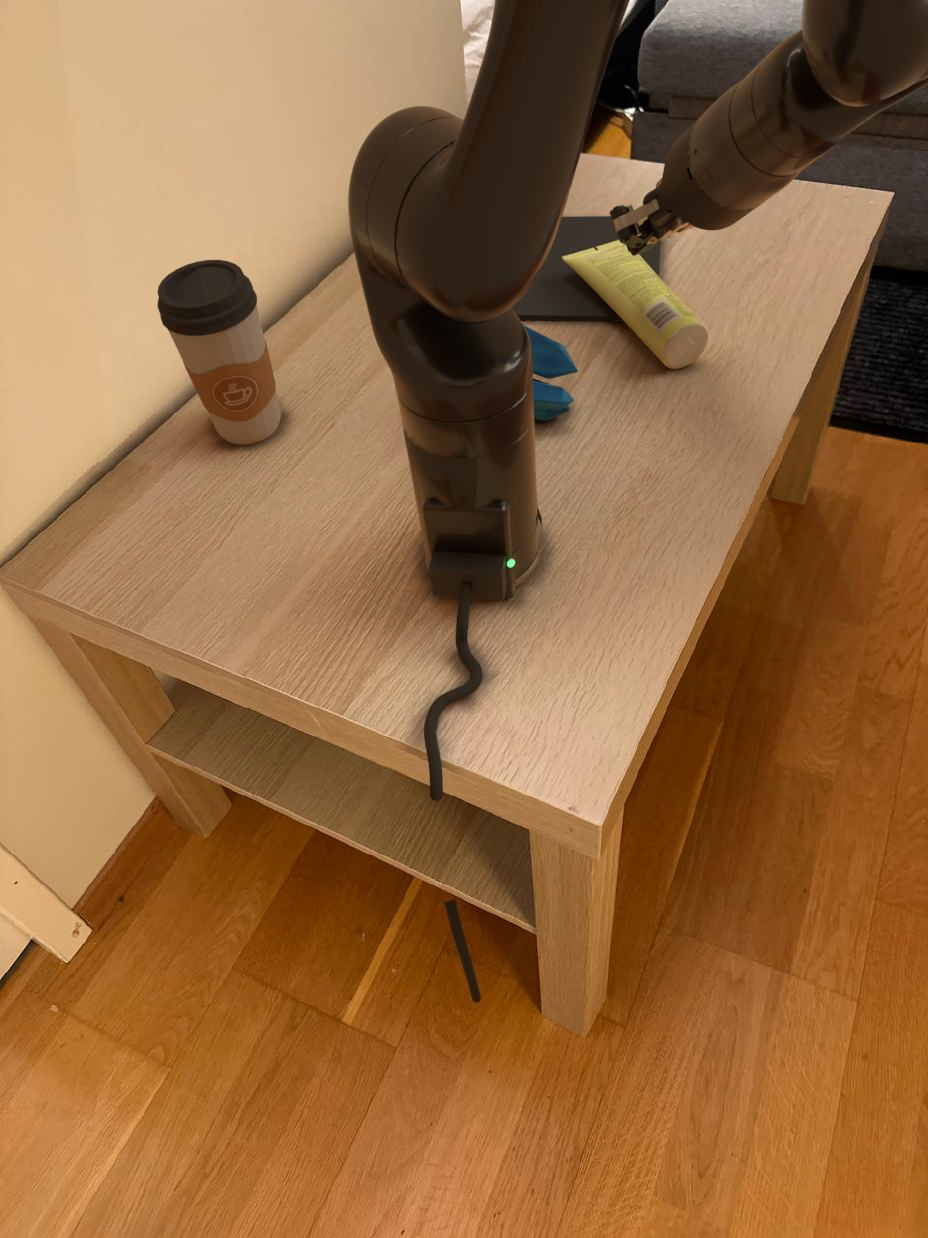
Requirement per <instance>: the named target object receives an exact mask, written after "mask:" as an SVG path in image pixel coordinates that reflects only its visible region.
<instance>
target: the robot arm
mask: <svg viewBox="0 0 928 1238" xmlns="http://www.w3.org/2000/svg"><path fill="white" fill-rule="evenodd" d="M629 3H630V0H494V5H493V11H492V17H491V23H490V29H489V33H488V37H487V42H486V44H485V45H486V46H485V49H484V53H483V56H482V61H481V63H480V67H479V70H478V74H477V76H476V80H475V83H474V87H473V90H472V93H471V96H470V99H469V103H468V106H467V109H466V111H465V115H464V117H463V118H462V117H460V116H458V115H456V114H454V113H452V112H451V111H447V110H445V109H442V108H438V107H434V106H428V105H415V106H409V107H405V108H402V109H400V110H397V111H395V112H392V113H391V114H389V115H387V116H386V117H385V118H383V119H382V120H381V121H379V122H378V123H377V124H376V126H374V127H373V129H372V130H371V131H370V132H369V133H368V135H367V137H366V138H365V139H364V140H363V142H362V144H361V146H360V149H359V150H358V153H357V155H356V157H355V159H354V162H353V165H352V168H351V173H350V178H349V184H348V194H347V212H348V214H347V215H348V223H349V231H350V232H349V233H350V237H351V243H352V247H353V252H354V259H355V262H356V267H357V270H358V274H359V279H360V283H361V288H362V292H363V296H364V299H365V303H366V308H367V311H368V316H369V321H370V325H371V328H372V332H373V335H374V339H375V341H376V344H377V347H378V349H379V351H380V353H381V355H382V357H383V358H384V360H385V362H386V365H387V366H388V368H389V370H390V372H391V374H392V378H393V382H394V386H395V392H396V397H397V401H398V409H399V412H400V420H401V425H402V430H403V434H404V435H403V437H404V442H405V447H406V453H407V458H408V462H409V469H410V476H411V480H412V487H413V492H414V497H415V503H416V509H417V514H418V520H419V526H420V531H421V535H422V542H423V546H424V547H423V549H424V550H423V551H424V559H425V565H426V567H427V570H428V576H429V582H430V586H431V594H432V596H434V597H447V598H458V599H457V601H458V602H457V609H456V619H455V621H456V622H455V637H454V639H455V647H456V651H457V654H458V656H459V659H460V661H461V662H462V663H463V665H464V666H465V667H466V669H467V670H468V671H469V673H470V674H469V678H468V680H466V682H465V683H464V684H461V685H459V686H457V687H455V688H453V689H450V690H448V691H446V692H444V693H442V694H441V695H439V696H438V697H436V699H435V700H433V702H432V703H431V705H430V707H429V709H428V711H427V713H426V715H425V719H424V723H423V739H424V745H425V750H426V757H427V762H428V771H429V797H430V798H431V800H432V801H435V802H438V801H440V800H441V799H442V797H443V796H444V780H443V779H444V778H443V777H444V776H443V766H442V765H443V764H442V759H441V751H440V747H439V741H438V732H437V729H438V723H439V720H440V717H441V715H442V713H443V711H444V710H445V709H446V707H448V706H449V705H451V704H453V703H456V702H458V701H460V700H462V699H464V698H466V697H468V696H470V695H472V694H473V693H475V692H476V691H477V690H478V689H479V687H481V683H482V681H483V677H484V676H483V675H484V674H483V668H482V667H481V664H480V663H479V661H478V660H477V659H476V657H475V656H474V655H473V654H472V651H471V650H470V646H469V640H468V636H469V621H470V612H471V611H470V610H471V602H472V599H477V600H478V599H479V600H493V601H504V600H505V599H506V598H507V599H512V598H513V597H514V596H515V591H516V588H517V587H519V585H521V584H522V583H524V582H525V581H526V580H527V579H529V577H531V575H532V574H533V573H534V571H535V570H536V568H537V566H538V564H539V561H540V558H541V539H540V534H539V524H540V526H541V527H543V518H542V515H541V514H542V513H541V512H540V509H539V507H538V485H537V484H538V483H537V458H536V433H535V432H536V429H535V419H534V394H533V378H534V374H533V361H532V348H531V342H530V338H529V336H528V333H527V331H526V329H525V327H524V326H525V325H524V324H523V322H522V320H520V319H519V318H518V316H517V315H516V313H515V312H514V310H513V309H512V307H513V306H514V305H515V304H516V303H517V302H518V301H519V300H520V299H521V298H522V297H523V295H524V294H525V293H526V292H527V290H528V289H529V288H530V286H531V285H532V284H533V282H534V280H535V278H536V277H537V275H538V273H539V271H540V269H541V268H542V266H543V264H544V262H545V260H546V258H547V256H548V253H549V251H550V249H551V246H552V244H553V241H554V238H555V236H556V233H557V230H558V227H559V224H560V221H561V218H562V217H563V215H564V212H565V208H566V206H567V201H568V198H569V195H570V192H571V188H572V186H573V181H574V178H575V174H576V170H577V167H578V165H579V161H580V157H581V154H582V150H583V147H584V143H585V140H586V136H587V133H588V130H589V126H590V123H591V119H592V116H593V112H594V109H595V105H596V102H597V98H598V95H599V92H600V88H601V85H602V82H603V79H604V77H605V72H606V69H607V66H608V63H609V61H610V58H611V54H612V51H613V48H614V46H615V43H616V40H617V37H618V34H619V31H620V28H621V25H622V22H623V20H624V17H625V16H626V15H625V14H626V13H627V10H628V7H629ZM927 85H928V0H802V11H801V29H800V30H798V31H796V32H795V33H793V34H791V35H789V36H788V37H787V38H786V39H784V40H783V41H782V42H780V43H779V44H777V45H776V47H774V48H773V50H771V51H770V52H769V53H768V54H766V56H765V57H764V58H763V59H762V60H761V61H760V62H759V63H758V64H756V66H754V68H753V69H751V71H749V73H747V75H745V77H743V78H742V79H741V80H740V81H738V82H737V83H735V84H734V85H732V86H731V87H729V88H728V89H727V90H726V91H724V92H723V93H722V94H721V95H720V96H719V97H718V98H717V99H716V100H715V101H714V102H713V103H712V104H711V105H710V106H709V107H708V108H707V109H706V110H705V111H704V112H703V113H702V114H701V115H700V116H699V117H698V118H697V119H696V120H695V121H694V122H693V123H692V124H691V125H690V126H689V127H688V128H687V129H686V130H685V131H684V132H683V133H682V134H681V135H680V136H679V137H678V139H676V140H675V142H674V143H673V144H672V145H671V147H670V149H669V151H668V153H667V155H666V158H665V161H664V166H663V170H662V176H661V178H660V179H659V180H657V182H656V184H655V188H653V189H652V190H650V191H649V192H647V193H646V194H645V195H644V197H643V199H642V205H640V206H638V207H637V208H633V205H632V204H628V205H623V204H622V205H616V206H614V207H613V209H611V210H610V211H609V215H610V216H611V218H612V221H613V224H614V227H615V230H616V232H617V235H618V238H619V241H620V242H621V243H623V244H625V245H626V246H627V249H628V252H631V254H632V255H633V256H635V255H638V254H640V253H643V252H646V251H648V250H650V249H651V248H652V247H653V246H655V245H656V244H657V243H658V242H660V243H661V241H662V240H663V239H670V238H673V237H674V235H675V234H677V233H682V232H686V231H688V230H692V229H693V228H697V229H698V230H699V229H700V230H703V231H720V230H724V229H726V228H729V227H731V226H733V225H734V224H736V223H737V222H740V220H741V219H743V218H745V217H746V216H747V215H749V214H750V213H751V212H753V211H755V210H756V209H757V208H758V207H760V206H762V204H764V203H766V201H768V200H769V199H771V198H772V197H773V196H775V195H776V194H777V193H779V192H781V191H782V190H783V189H785V187H787V186H788V185H789V184H790V183H791V182H793V180H795V179H796V178H797V177H798V175H799V174H800V173H801V172H802V171H803V170H805V169H806V168H807V167H808V166H810V165H811V164H813V163H814V162H815V161H817V160H818V159H820V158H821V157H822V156H824V155H825V154H826V153H829V151H830V150H832V149H833V148H835V147H836V146H837V145H838V144H839V143H841V141H843V140H844V139H845V138H846V137H847V136H848V135H850V134H851V133H852V132H853V131H855V130H856V129H857V128H859V127H860V126H862V125H863V124H864V123H866V122H868V120H870V119H872V118H873V117H875V116H877V115H878V114H880V113H881V112H883V111H885V110H886V109H888V108H891V107H892V106H894V105H895V104H897V103H899V102H901V101H902V100H905V98H908V97H909V96H910V95H912V94H913V93H915V92H917V91H918V90H920V89H922V88H924V87H925V86H927ZM443 904H444V907H445V912H446V915H447V919H448V923H449V926H450V927H449V928H450V929H451V933H452V937H453V940H454V943H455V947H456V950H457V952H458V956H459V959H460V962H461V966H462V969H463V972H464V975H465V979H466V981H467V985H468V989H469V992H470V997H471V1001H472V1002H473V1003H475V1004H477V1003H480V1002H481V1000H482V995H481V992H480V987H479V983H478V980H477V975H476V972H475V967H474V965H473V961H472V958H471V954H470V950H469V948H468V943H467V940H466V936H465V933H464V929H463V925H462V921H461V917H460V913H459V909H458V904H457V899H456V898H453V899H450V900H447V901H444V903H443Z"/></svg>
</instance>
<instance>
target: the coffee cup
mask: <svg viewBox="0 0 928 1238" xmlns="http://www.w3.org/2000/svg"><path fill="white" fill-rule="evenodd" d="M157 296H158V298H157V305H156V306H157V309H158V313H159V315H160V317H159V318H160V321H161V323H162V326H164V327H165V328H166V330H168V333H169V335H170V338H171V339H172V341H173V343H174V345H175V347H176V350H177V352H178V354H179V356H180V358H181V360H182V362H183V366H184V368H185V370H186V373H187V374H188V376H189V378H190V380H191V382H192V385H193V387H194V389H195V391H196V393H197V396H198V397H199V399H200V401H201V403H202V405H203V408H204V409H205V410H206V412H207V414H208V416H209V418H210V420H211V423H212V424H213V427H214V429H215V431H216V433H217V434H218V435H219V436H220V437H221V438H223V439H224V440H225V441H227V442H229V443H231V444H235V445H251V444H256V443H258V442H259V443H260V442H262V441H264V440H266V439H268V438H269V437H270V436H271V435H273V434H274V433H275V432H276V431H277V429H278V428H279V425H280V420H281V418H282V410H281V406H280V402H279V401H280V400H279V397H278V393H277V389H276V388H277V385H276V384H277V383H276V380H275V375H274V371H273V367H272V362H271V357H270V353H269V348H268V344H267V341H266V339H265V335H264V332H263V326H262V323H261V318H260V314H259V313H260V312H259V309H258V305H257V304H258V295H257V293H256V291H255V289H254V286H253V284H252V282H251V280H250V278H249V277H248V276H247V275H245V274H244V272H243V269H242V268H241V267H240V266H239V265H238V264H236V263H234V262H231V261H229V260H224V259H205V260H199V261H195V262H191V263H188V264H185V265H182V266H181V267H178V268H176V269H174V270H173V271H172V272H170V273H168V274H167V275H166V276H165V277H164V278H163V279H162V280H161V282H160V283H159V285H158V286H157Z"/></svg>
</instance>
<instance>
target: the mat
mask: <svg viewBox="0 0 928 1238" xmlns="http://www.w3.org/2000/svg"><path fill="white" fill-rule="evenodd" d="M617 240H619V238H618V235H617V232H616V230H615V227H614V224H613V221H612V218H611V215H610V216H608V215H605V216H604V215H603V216H600V215H598V216H593V215H592V216H562V218H561V221H560V224H559V227H558V230H557V233H556V236H555V238H554V241H553V244H552V246H551V249H550V251H549V253H548V256H547V258H546V260H545V262H544V264H543V266H542V268H541V269H540V271H539V273H538V275H537V277H536V278H535V280H534V282H533V284H532V285H531V286H530V288H529V289H528V290H527V292H526V293H525V294H524V295H523V297H522V298H521V299H520V300H519V301H518V302H517V303H516V304H515V305H514V306H513V307H512V309H513V310H514V312H515V313H516V315H517V316H518V318H519V319H520V320H521V321H574V322H575V321H577V322H578V321H579V322H581V321H582V322H583V321H585V322H587V321H588V322H624V321H623V319H622V318H621V317H620V316H619V315H618V314H617V313H616V312H615V311H614V310H613V309H612V308H611V307H610V306H609V305H608V304H607V303H606V302H605V301H604V300H603V299H602V298H601V296H600V295H599V294H598V293H597V292H596V291H595V290H594V289H593V288H592V287H591V286H590V285H589V284H588V283H587V282H586V281H585V280H584V279H583V278H582V277H581V276H580V275H579V274H578V273H577V272H575V271H574V270H573V269H572V268H571V267H570V266H569V265H568V264H567V263H566V262H565V261H564V260H563V259H562V256H567V255H570V254H574V253H577V252H580V251H584V250H587V249H590V248H594V247H597V246H601V245H604V244H607V243H610V242H614V241H617ZM639 255H640V256H641V257H642V258H643V259H644V261H645V262H646V263H647V264H648V265H649V266H650V268H651V269H652V270H653V271H654V272H655V273H656V274H657V275H658V277H659V278H660V276H659V275H660V259H661V258H660V256H661V241H660V242H658V243H657V244H656V245H655V246H653V247H652V248H651V249H650V250H648V251H646V252H643V253H640V254H639Z"/></svg>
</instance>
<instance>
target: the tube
mask: <svg viewBox="0 0 928 1238" xmlns="http://www.w3.org/2000/svg"><path fill="white" fill-rule="evenodd" d="M562 259H563V260H564V261H565V262H566V263H567V264H568V265H569V266H570V267H571V268H572V269H573V270H574V271H575V272H577V273H578V274H579V275H580V276H581V277H582V278H583V279H584V280H585V281H586V282H587V283H588V284H589V285H590V286H591V287H592V288H593V289H594V290H595V291H596V292H597V293H598V294H599V295H600V296H601V298H602V299H603V300H604V301H605V302H606V303H607V304H608V305H609V306H610V307H611V308H612V309H613V310H614V311H615V312H616V313H617V314H618V315H619V316H620V317H621V318H622V319H623V321H622V322H624V323H625V324H626V325H627V326H628V327H629V328H630V329H631V330H632V331H633V333H634V334H636V336H637V337H638V338H639V339H640V341H642V342H643V343H644V344H645V346H647V348H648V349H649V350H650V351H651V352H652V353H653V355H654V356H655V357H657V359H658V360H659V361H660V362H661V363H662V364H663V365H664V366H665V367H667V368H669V369H673V370H677V369H682V368H686V367H687V366H689V365H691V364H692V363H694V362H695V361H696V360H697V359H698V358H699V357H700V356H701V355H702V354H703V353H704V351H705V349H706V348H707V344H708V342H709V330H708V328H707V327H706V326H705V324H704V323H703V322H702V321H701V320H700V319H699V318H698V317H697V316H696V314H695V313H693V312H692V311H691V309H689V307H688V306H687V305H686V304H685V303H684V302H683V301H682V300H681V299H680V298H679V297H678V296H677V295H676V293H674V292H673V290H672V289H671V288H670V287H669V286H668V285H667V284H666V283H665V282H664V281H663V280H662V279H661V278H660V276H659V277H658V275H657V274H656V273H655V272H654V271H653V270H652V269H651V268H650V266H649V265H648V264H647V263H646V262H645V261H644V259H643V258H642V257H641V256H640V255H639V254H638V255H635V256H633V255H632V254H631V252H628V249H627V246H626V245H625V244H623V243H621V242H620V241H619V240H617V241H614V242H610V243H607V244H604V245H601V246H597V247H594V248H590V249H587V250H584V251H580V252H577V253H574V254H570V255H567V256H562Z"/></svg>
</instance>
